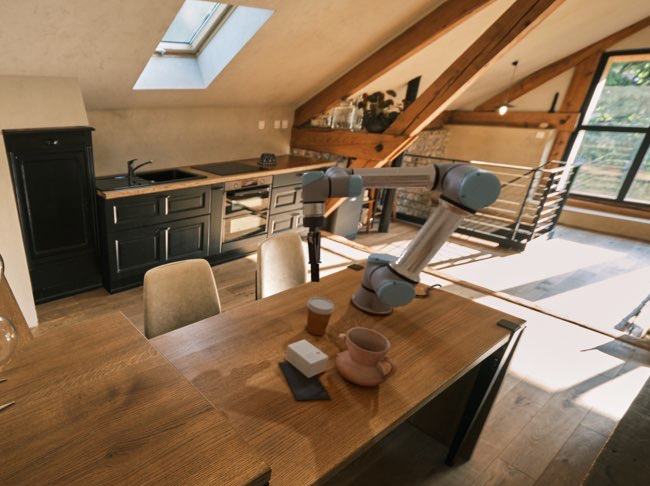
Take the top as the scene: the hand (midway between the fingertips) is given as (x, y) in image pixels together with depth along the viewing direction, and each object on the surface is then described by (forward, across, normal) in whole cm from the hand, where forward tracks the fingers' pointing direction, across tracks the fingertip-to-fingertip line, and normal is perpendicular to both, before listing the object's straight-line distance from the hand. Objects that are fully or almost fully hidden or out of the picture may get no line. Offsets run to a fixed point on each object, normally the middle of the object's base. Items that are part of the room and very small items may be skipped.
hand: (315, 281), depth 137 cm
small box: (+20, +14, -4) cm, 25 cm away
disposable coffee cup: (+20, -5, -1) cm, 20 cm away
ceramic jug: (+28, +12, +15) cm, 34 cm away
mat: (+27, +24, 0) cm, 36 cm away
